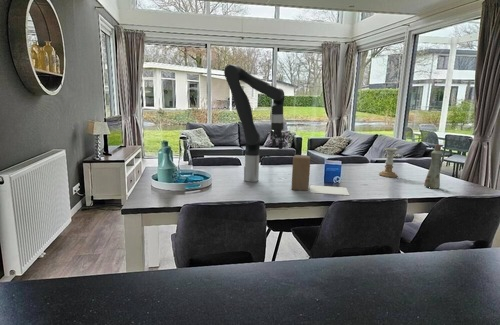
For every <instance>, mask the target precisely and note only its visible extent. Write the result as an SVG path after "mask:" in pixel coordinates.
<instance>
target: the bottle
mask: <svg viewBox="0 0 500 325" xmlns="http://www.w3.org/2000/svg"><path fill="white" fill-rule="evenodd" d="M441 148H442V145H441V144H439V143H438V144H435V146H434V150H433V151H431V153H430V154H431V156H430V157H431V158H430V159H431V160H430V161H431V162H430V166H429V169H428V171H427V175H426V177H425V180H424V183H423V185H424V187H425V186H426V187H425V188H427V187H430V188H429V189H439V188H440V186H441V182H440V181H441V175H440V174H441V173H440V163H441V159H442V156H443V151H441V150H442V149H441Z"/></svg>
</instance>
